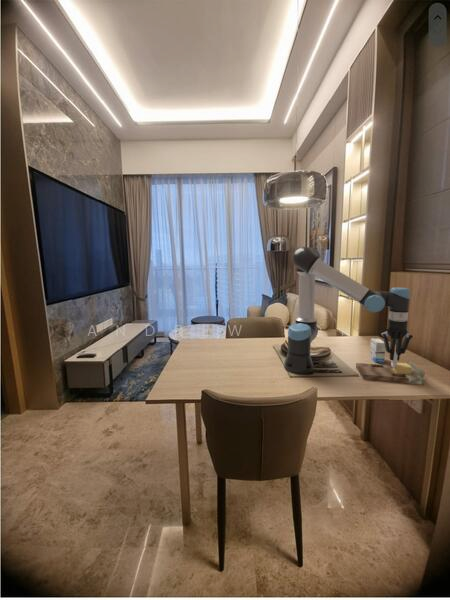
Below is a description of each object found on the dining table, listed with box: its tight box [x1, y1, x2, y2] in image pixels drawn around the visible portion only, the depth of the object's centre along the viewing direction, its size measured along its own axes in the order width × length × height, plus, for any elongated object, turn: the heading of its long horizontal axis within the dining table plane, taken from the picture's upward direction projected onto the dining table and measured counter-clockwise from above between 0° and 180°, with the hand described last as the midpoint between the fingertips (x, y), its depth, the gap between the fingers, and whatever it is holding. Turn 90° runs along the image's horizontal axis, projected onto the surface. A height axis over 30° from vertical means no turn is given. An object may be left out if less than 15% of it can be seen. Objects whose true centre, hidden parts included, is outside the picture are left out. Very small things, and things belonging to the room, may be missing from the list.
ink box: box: [369, 338, 386, 364], centre depth 141 cm, size 9×5×12 cm, turn 168°
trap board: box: [355, 360, 425, 386], centre depth 122 cm, size 25×14×6 cm, turn 75°
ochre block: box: [393, 362, 412, 374], centre depth 121 cm, size 6×5×4 cm
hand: (393, 366), depth 121 cm, fingers closed
